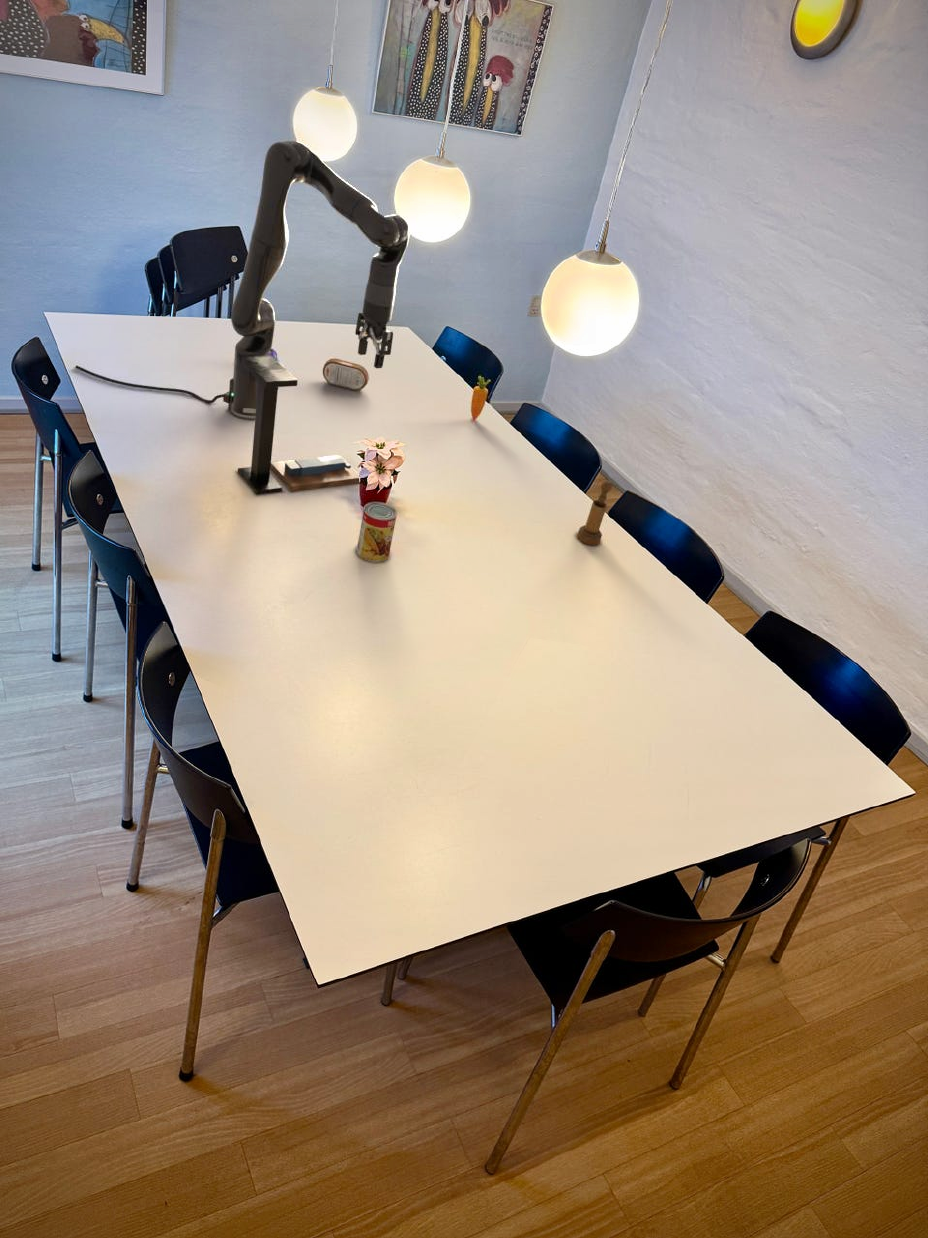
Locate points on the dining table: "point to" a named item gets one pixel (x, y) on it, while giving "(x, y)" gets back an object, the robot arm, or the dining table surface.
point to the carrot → (479, 398)
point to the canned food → (376, 531)
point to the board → (316, 476)
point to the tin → (345, 374)
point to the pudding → (275, 356)
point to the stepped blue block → (314, 466)
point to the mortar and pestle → (595, 518)
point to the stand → (264, 421)
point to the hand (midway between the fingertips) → (369, 361)
